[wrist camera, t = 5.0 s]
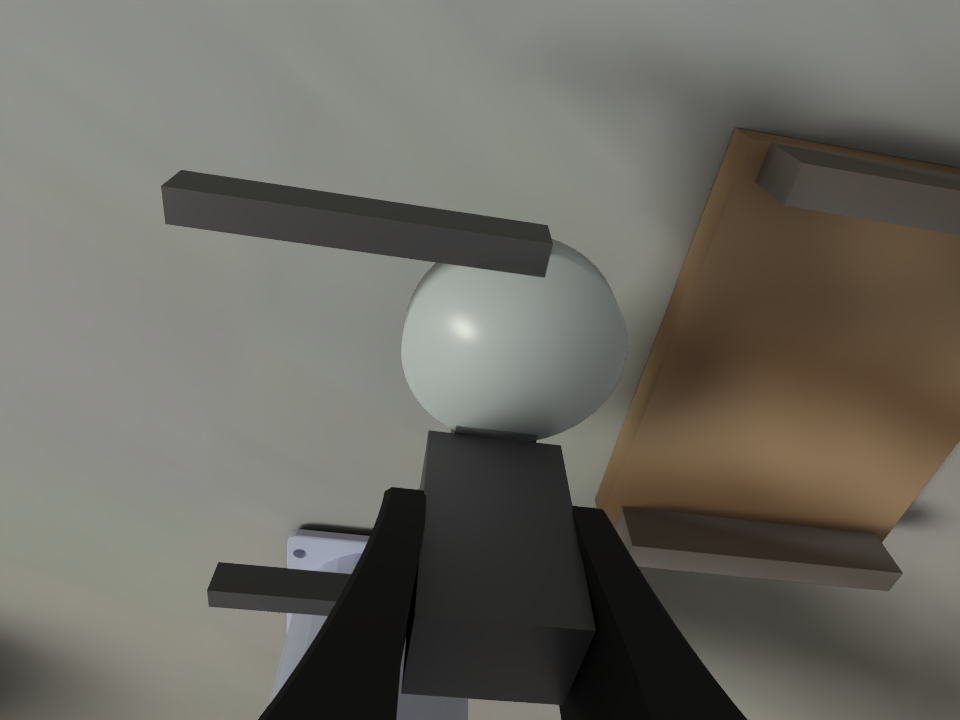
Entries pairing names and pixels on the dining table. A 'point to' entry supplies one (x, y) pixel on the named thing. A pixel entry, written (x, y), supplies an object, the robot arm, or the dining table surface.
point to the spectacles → (461, 430)
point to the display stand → (797, 370)
